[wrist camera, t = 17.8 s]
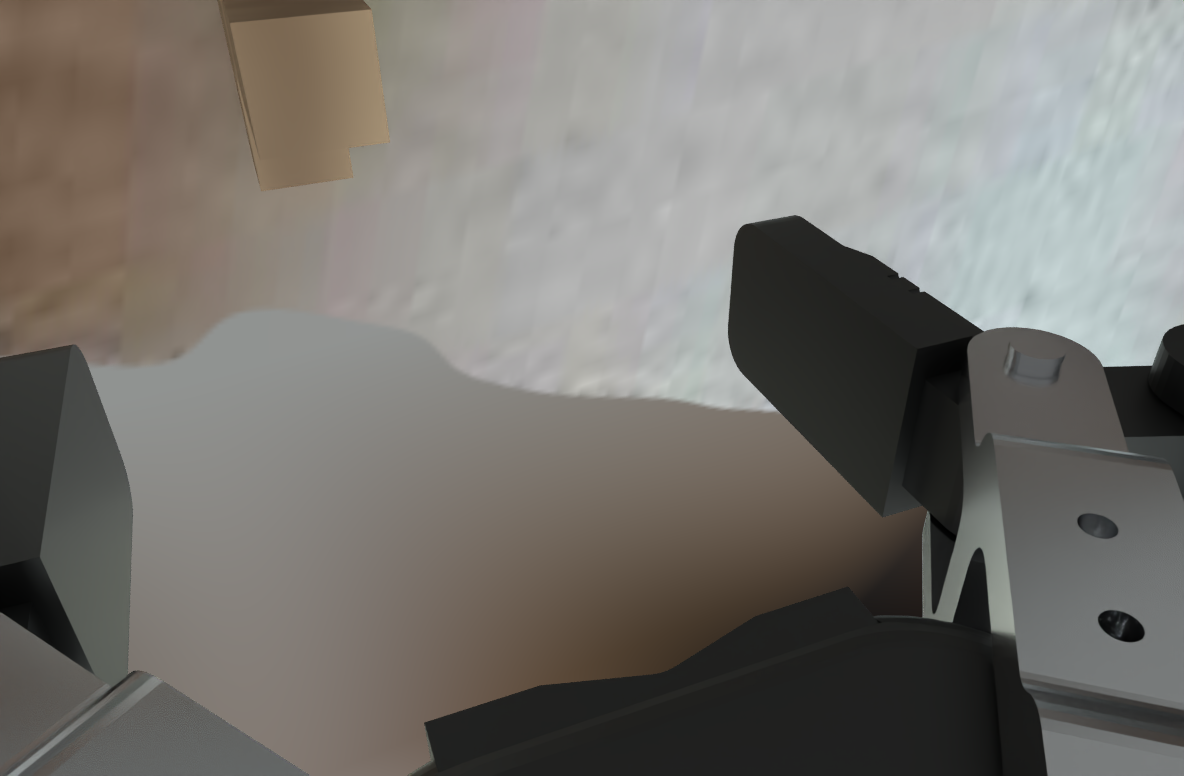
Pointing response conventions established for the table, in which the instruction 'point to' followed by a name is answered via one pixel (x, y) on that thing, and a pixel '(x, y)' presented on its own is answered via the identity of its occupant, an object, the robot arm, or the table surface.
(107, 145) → the table surface
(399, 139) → the table surface
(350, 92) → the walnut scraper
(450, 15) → the table surface
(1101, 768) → the robot arm
